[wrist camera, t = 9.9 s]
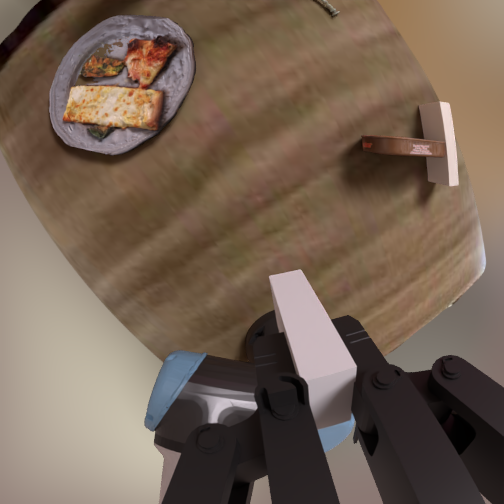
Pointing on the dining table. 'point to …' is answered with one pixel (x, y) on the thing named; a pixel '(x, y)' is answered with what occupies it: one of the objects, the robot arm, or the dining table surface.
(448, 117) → the board
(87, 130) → the food plate
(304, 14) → the dining table surface
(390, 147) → the tin
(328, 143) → the dining table surface
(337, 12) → the soupspoon
